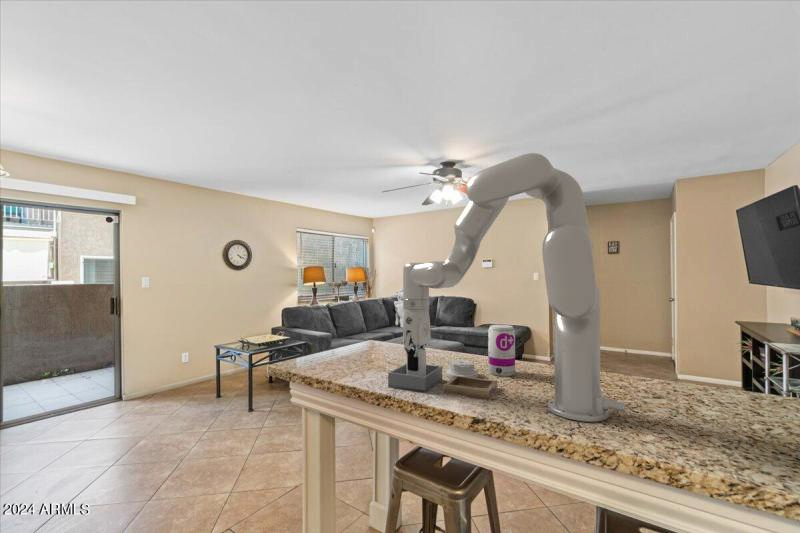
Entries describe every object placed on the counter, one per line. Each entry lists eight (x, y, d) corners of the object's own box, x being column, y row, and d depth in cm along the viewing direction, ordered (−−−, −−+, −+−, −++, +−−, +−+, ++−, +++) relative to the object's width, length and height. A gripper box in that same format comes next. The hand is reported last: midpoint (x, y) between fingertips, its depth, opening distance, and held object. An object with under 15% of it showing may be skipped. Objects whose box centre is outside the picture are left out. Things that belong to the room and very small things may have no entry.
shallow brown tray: (497, 388, 101) (497, 380, 101) (489, 399, 92) (489, 391, 92) (455, 382, 106) (455, 375, 106) (444, 392, 97) (444, 384, 97)
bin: (442, 379, 108) (442, 366, 109) (425, 392, 97) (425, 377, 97) (408, 375, 114) (408, 362, 114) (388, 386, 102) (388, 372, 102)
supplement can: (518, 376, 112) (518, 328, 112) (491, 376, 112) (491, 327, 112) (510, 369, 120) (510, 324, 120) (485, 369, 120) (485, 324, 120)
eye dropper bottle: (411, 374, 108) (411, 333, 109) (428, 376, 106) (428, 335, 106) (404, 377, 105) (404, 336, 105) (421, 380, 102) (421, 337, 102)
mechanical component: (439, 376, 113) (468, 383, 106) (439, 362, 113) (467, 367, 106) (456, 370, 120) (484, 375, 114) (456, 356, 120) (483, 361, 114)
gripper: (416, 308, 96) (416, 377, 96) (438, 303, 111) (438, 363, 111) (391, 307, 100) (391, 374, 99) (416, 302, 115) (416, 360, 114)
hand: (416, 367), depth 105 cm, fingers closed on eye dropper bottle, 4 cm apart
